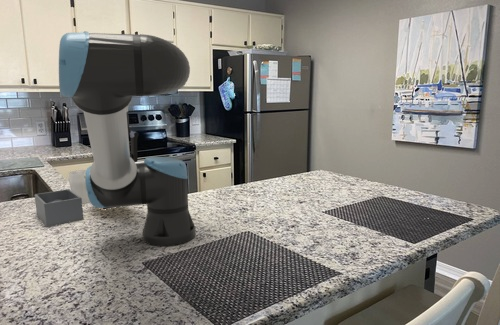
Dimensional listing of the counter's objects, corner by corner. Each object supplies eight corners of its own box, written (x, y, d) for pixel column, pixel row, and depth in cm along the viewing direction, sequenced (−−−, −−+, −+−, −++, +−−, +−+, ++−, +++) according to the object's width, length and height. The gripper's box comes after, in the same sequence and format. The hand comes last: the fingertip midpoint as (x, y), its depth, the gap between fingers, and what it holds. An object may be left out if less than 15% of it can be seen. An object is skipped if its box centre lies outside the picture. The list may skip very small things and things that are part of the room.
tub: (83, 221, 125) (81, 197, 124) (46, 228, 118) (44, 204, 117) (71, 210, 136) (69, 189, 135) (37, 216, 130) (34, 194, 128)
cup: (100, 199, 150) (98, 170, 148) (89, 206, 141) (86, 175, 139) (79, 199, 151) (76, 169, 149) (66, 205, 142) (63, 174, 140)
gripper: (136, 111, 128) (141, 179, 132) (84, 113, 117) (90, 187, 121) (146, 112, 122) (150, 183, 126) (91, 114, 111) (98, 191, 116)
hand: (120, 184), depth 124 cm, fingers closed on lid, 4 cm apart
